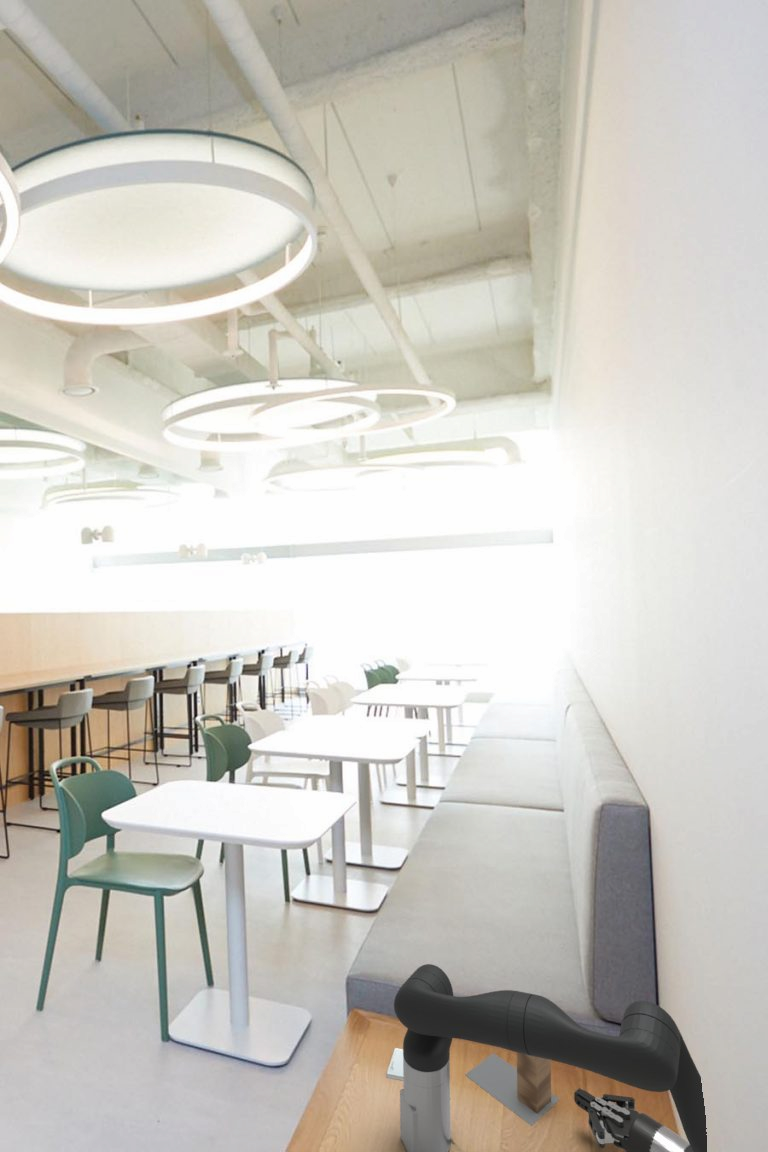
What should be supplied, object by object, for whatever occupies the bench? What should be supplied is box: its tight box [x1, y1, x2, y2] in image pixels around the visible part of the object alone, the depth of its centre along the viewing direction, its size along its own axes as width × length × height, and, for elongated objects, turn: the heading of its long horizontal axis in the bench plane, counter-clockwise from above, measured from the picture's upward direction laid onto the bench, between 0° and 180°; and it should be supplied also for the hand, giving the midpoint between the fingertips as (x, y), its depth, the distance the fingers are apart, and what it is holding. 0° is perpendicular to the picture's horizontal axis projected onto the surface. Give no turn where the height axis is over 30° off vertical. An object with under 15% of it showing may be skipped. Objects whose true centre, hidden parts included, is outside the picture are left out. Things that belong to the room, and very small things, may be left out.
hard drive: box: [386, 1047, 404, 1082], centre depth 147 cm, size 2×8×12 cm
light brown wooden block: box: [516, 1052, 552, 1113], centre depth 137 cm, size 5×5×12 cm
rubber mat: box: [464, 1052, 560, 1127], centre depth 140 cm, size 18×10×1 cm, turn 41°
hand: (576, 1094), depth 129 cm, fingers closed
